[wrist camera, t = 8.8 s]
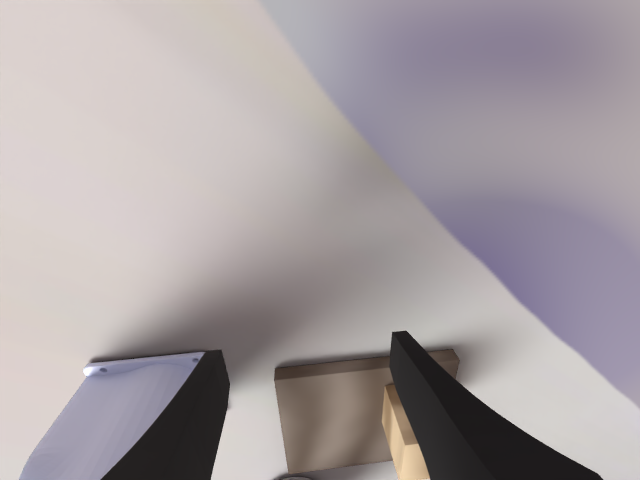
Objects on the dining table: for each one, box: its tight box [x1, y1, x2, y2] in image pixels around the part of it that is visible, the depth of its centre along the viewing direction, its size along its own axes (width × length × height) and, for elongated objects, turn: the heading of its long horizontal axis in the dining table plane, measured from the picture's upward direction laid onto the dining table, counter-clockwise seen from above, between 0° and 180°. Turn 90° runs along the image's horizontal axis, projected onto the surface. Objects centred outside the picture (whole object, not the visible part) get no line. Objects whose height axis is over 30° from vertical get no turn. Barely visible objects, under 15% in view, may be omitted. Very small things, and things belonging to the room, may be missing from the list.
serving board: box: [274, 349, 459, 474], centre depth 29 cm, size 16×14×1 cm
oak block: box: [382, 385, 430, 480], centre depth 25 cm, size 5×5×5 cm
